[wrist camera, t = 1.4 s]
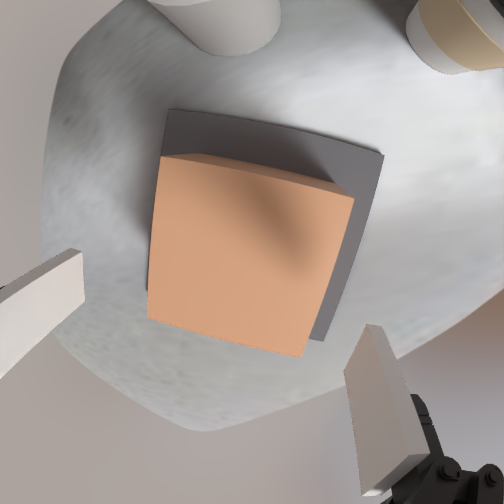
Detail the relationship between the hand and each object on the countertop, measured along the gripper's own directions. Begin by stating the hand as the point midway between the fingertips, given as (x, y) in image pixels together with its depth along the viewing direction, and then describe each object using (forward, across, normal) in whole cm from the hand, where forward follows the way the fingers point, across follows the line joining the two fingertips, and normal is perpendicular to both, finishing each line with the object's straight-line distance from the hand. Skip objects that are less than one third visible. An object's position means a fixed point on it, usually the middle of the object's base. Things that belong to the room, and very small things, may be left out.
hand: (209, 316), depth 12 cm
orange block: (+12, 0, 0) cm, 12 cm away
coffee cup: (+12, +12, +21) cm, 28 cm away
